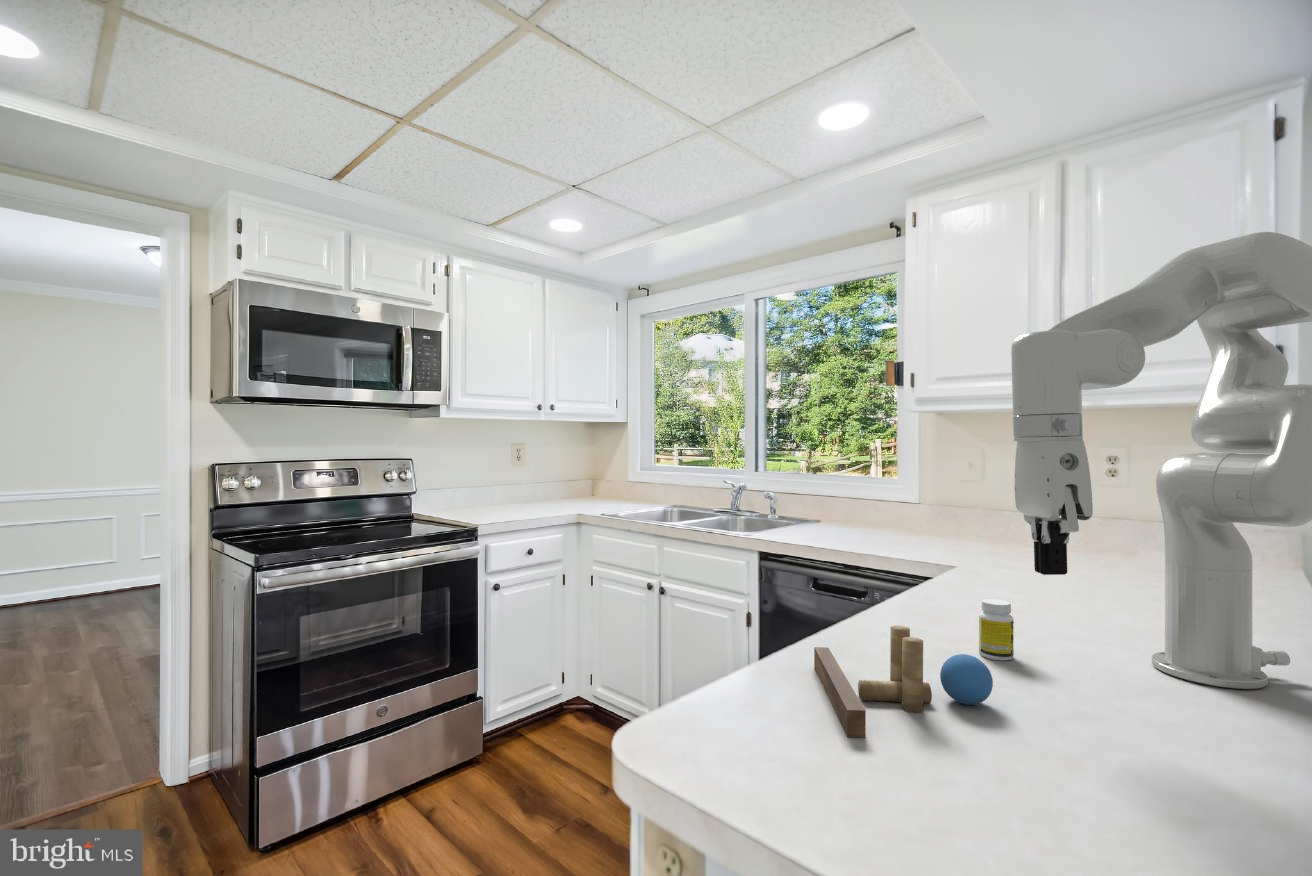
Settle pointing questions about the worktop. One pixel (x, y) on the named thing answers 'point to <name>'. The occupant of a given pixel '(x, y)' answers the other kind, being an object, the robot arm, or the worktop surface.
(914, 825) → the worktop surface
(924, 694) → the pin front
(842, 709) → the back rail
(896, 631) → the pin
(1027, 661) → the worktop surface
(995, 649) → the supplement bottle
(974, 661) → the ball
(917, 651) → the pin
